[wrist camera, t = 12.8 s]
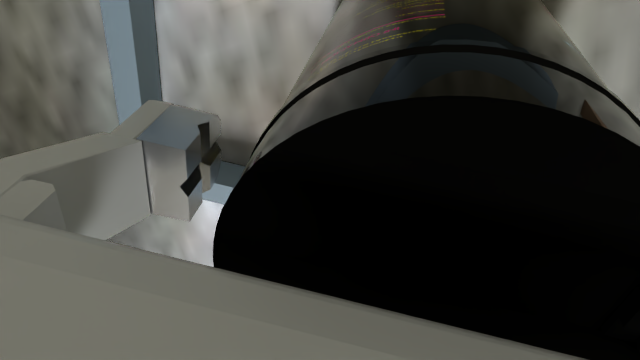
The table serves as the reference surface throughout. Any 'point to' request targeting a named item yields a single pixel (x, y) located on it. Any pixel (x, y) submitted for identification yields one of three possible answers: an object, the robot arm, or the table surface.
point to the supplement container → (451, 178)
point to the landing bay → (145, 72)
